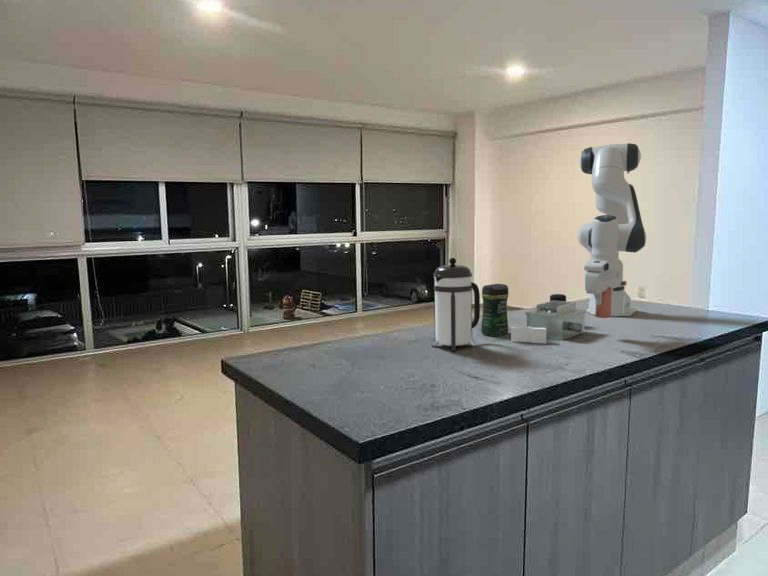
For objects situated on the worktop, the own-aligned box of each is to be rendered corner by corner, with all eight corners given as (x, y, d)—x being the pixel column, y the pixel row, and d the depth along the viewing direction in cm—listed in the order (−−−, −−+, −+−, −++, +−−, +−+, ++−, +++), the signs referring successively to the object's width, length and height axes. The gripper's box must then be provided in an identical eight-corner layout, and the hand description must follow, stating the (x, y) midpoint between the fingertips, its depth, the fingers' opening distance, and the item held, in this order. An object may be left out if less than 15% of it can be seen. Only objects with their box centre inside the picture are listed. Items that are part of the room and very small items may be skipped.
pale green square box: (549, 326, 210) (549, 299, 208) (595, 333, 197) (596, 304, 195) (525, 334, 198) (525, 305, 197) (572, 341, 185) (573, 311, 184)
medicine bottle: (569, 326, 210) (570, 295, 208) (550, 326, 210) (551, 296, 208) (563, 322, 217) (564, 292, 215) (545, 323, 217) (546, 293, 215)
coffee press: (478, 352, 175) (478, 259, 170) (428, 351, 178) (427, 260, 174) (479, 340, 191) (479, 255, 187) (434, 339, 195) (433, 255, 191)
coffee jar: (493, 337, 194) (493, 286, 192) (477, 334, 201) (477, 284, 198) (512, 333, 200) (512, 283, 197) (496, 330, 206) (496, 281, 204)
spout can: (599, 314, 192) (600, 278, 190) (613, 316, 189) (614, 279, 187) (592, 316, 189) (593, 280, 187) (607, 318, 185) (608, 281, 183)
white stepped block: (501, 342, 189) (501, 326, 188) (521, 337, 196) (521, 321, 195) (538, 350, 178) (538, 333, 177) (558, 344, 185) (558, 327, 184)
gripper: (608, 259, 195) (607, 297, 197) (581, 266, 181) (580, 306, 184) (626, 260, 191) (625, 299, 193) (600, 267, 177) (599, 309, 179)
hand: (603, 303), depth 188 cm, fingers closed on spout can, 5 cm apart
